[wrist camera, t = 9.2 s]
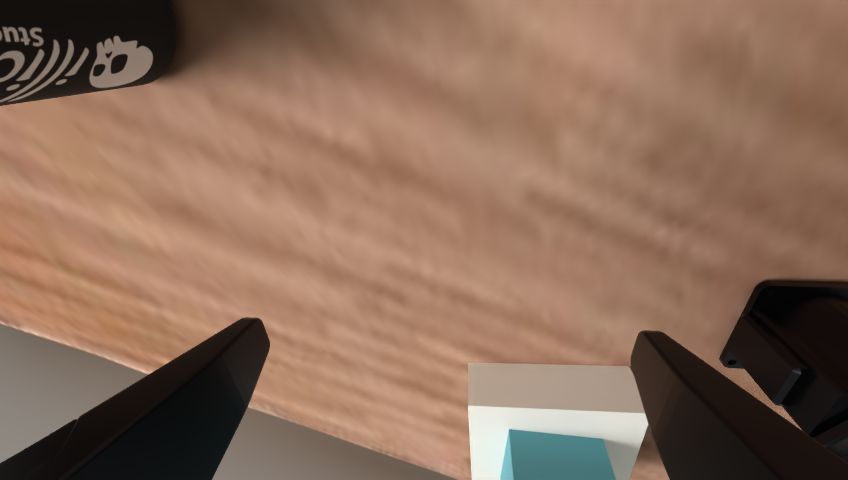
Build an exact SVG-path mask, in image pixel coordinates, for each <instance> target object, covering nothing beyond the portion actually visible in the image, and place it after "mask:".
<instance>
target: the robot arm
mask: <svg viewBox="0 0 848 480" xmlns="http://www.w3.org/2000/svg"><path fill="white" fill-rule="evenodd" d="M767 290H768V291H767ZM269 348H270V341H269V338H268V335H267V333H266V330H265V327H264V325H263V322H262V320H261V319H259V318H250V317H246V318H242V319H240V320H238V321H237V322H235V323H233V324H232V325H230V326H228V327H227V328H225V329H223V330H222V331H220V332H218V333H217V334H215V335H213V336H212V337H210V338H208V339H207V340H205V341H203V342H202V343H200V344H199V345H197V346H195V347H194V348H192V349H190V350H189V351H187V352H185V353H184V354H182V355H180V356H179V357H177V358H175V359H174V360H172V361H170V362H169V363H167V364H165V365H164V366H162V367H160V368H159V369H157V370H156V371H154V372H152V373H151V374H149V375H147V376H146V377H144V378H143V379H141V380H139V381H137V382H136V383H134V384H132V385H131V386H129V387H127V388H126V389H124V390H123V391H121V392H119V393H118V394H116V395H114V396H113V397H111V398H109V399H108V400H106V401H104V402H103V403H101V404H99V405H98V406H96V407H94V408H93V409H91V410H89V411H88V412H86V413H84V414H83V415H81V416H80V417H79V418H78V419H75V420H73V421H71V422H69V423H68V424H66V425H65V426H63V427H61V428H60V429H58V430H56V431H55V432H53V433H51V434H50V435H48V436H46V437H45V438H43V439H41V440H40V441H38V442H36V443H34V444H33V445H31V446H29V447H28V448H26V449H24V450H23V451H21V452H19V453H17V454H16V455H14V456H12V457H10V458H8V459H7V460H5V461H3V462H1V463H0V480H212V478H213V476H214V474H215V472H216V470H217V468H218V466H219V464H220V462H221V460H222V458H223V456H224V454H225V452H226V450H227V448H228V446H229V444H230V442H231V440H232V438H233V436H234V434H235V432H236V430H237V428H238V426H239V424H240V421H241V420H242V418H243V415H244V413H245V411H246V409H247V407H248V404H249V402H250V400H251V397H252V394H253V392H254V389H255V387H256V384H257V381H258V379H259V376H260V373H261V371H262V368H263V365H264V363H265V360H266V357H267V355H268V352H269ZM719 360H720V361H721V363H722V364H723V365H724V366H725V367H728V368H742V369H745V370H746V371H747V372H748V373H749V374H750V376H751V377H752V378H753V379H754V381H755V382H756V383H757V384H758V385H759V387H760V388H761V389H762V390H763V392H764V393H765V394H766V395H767V396H768V398H769V399H770V400H771V401H772V402H773V403H774V404H775V405H779V406H782V407H783V408H784V409H785V410H786V411H787V413H788V414H789V415H790V416H791V417H792V419H793V420H794V421H795V422H796V423H797V425H798V426H799V427H800V428H801V429H802V430H803V431H802V430H800V429H799V428H797V427H796V426H795V425H793V424H792V423H790V422H789V421H788V420H786V419H785V418H783V417H782V416H780V415H779V414H778V413H776V412H775V411H773V410H772V409H771V408H769V407H768V406H766V405H765V404H764V403H762V402H761V401H759V400H758V399H756V398H755V397H754V396H752V395H751V394H749V393H748V392H747V391H745V390H744V389H742V388H741V387H740V386H738V385H737V384H735V383H734V382H732V381H731V380H730V379H728V378H727V377H725V376H724V375H723V374H721V373H720V372H718V371H717V370H716V369H714V368H713V367H711V366H710V365H708V364H707V363H706V362H704V361H703V360H701V359H700V358H699V357H697V356H696V355H694V354H693V353H692V352H690V351H689V350H687V349H686V348H684V347H683V346H682V345H680V344H679V343H677V342H676V341H675V340H673V339H672V338H670V337H669V336H667V335H666V334H665V333H663V332H660V331H641V332H640V333H639V334H638V336H637V339H636V342H635V345H634V348H633V351H632V355H631V367H632V371H633V374H634V377H635V381H636V384H637V388H638V391H639V394H640V398H641V401H642V405H643V408H644V411H645V415H646V418H647V422H648V425H649V428H650V431H651V434H652V437H653V440H654V442H655V445H656V447H657V450H658V452H659V455H660V457H661V459H662V462H663V464H664V467H665V469H666V471H667V474H668V476H669V479H670V480H848V283H808V282H763V283H760V284H758V285H757V286H756V287H755V288H754V290H753V292H752V294H751V296H750V298H749V300H748V302H747V304H746V306H745V308H744V310H743V312H742V314H741V316H740V318H739V320H738V322H737V324H736V326H735V328H734V330H733V332H732V334H731V336H730V338H729V340H728V342H727V344H726V346H725V348H724V350H723V352H722V353H721V355H720V358H719Z"/></svg>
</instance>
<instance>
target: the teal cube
mask: <svg viewBox="0 0 848 480" xmlns="http://www.w3.org/2000/svg"><path fill="white" fill-rule="evenodd" d="M500 480H616V478H615V475H614V472H613V469H612V466H611V462H610V459H609V456H608V453H607V450H606V447H605V444H604V441H603V439H600V438H590V437H580V436H570V435H561V434H551V433H541V432H532V431H522V430H512V429H509V431H508V437H507V442H506V448H505V453H504V459H503V465H502V470H501V476H500Z"/></svg>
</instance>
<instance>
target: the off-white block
mask: <svg viewBox="0 0 848 480" xmlns="http://www.w3.org/2000/svg"><path fill="white" fill-rule="evenodd" d="M468 413H469V432H470V451H471V470H472V480H500V476H501V470H502V465H503V459H504V453H505V448H506V442H507V437H508V431H509V429H512V430H522V431H532V432H541V433H551V434H561V435H570V436H580V437H590V438H600V439H603V441H604V444H605V447H606V450H607V453H608V456H609V459H610V462H611V466H612V469H613V472H614V475H615V478H616V480H629V479H630V476H631V473H632V470H633V467H634V464H635V461H636V458H637V455H638V452H639V450H640V447H641V444H642V441H643V438H644V435H645V432H646V429H647V426H648V422H647V418H646V415H645V411H644V408H643V405H642V401H641V398H640V394H639V391H638V388H637V384H636V381H635V377H634V375H633V373H632V371H631V369H630V367H629V366H595V365H556V364H516V363H477V362H469V364H468Z"/></svg>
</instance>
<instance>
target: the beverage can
mask: <svg viewBox="0 0 848 480" xmlns="http://www.w3.org/2000/svg"><path fill="white" fill-rule="evenodd" d="M175 46H176V23H175V17H174V12H173V9H172V6H171V2H170V0H0V106H2V105H9V104H16V103H23V102H29V101H36V100H43V99H50V98H57V97H63V96H70V95H77V94H84V93H91V92H97V91H104V90H111V89H118V88H125V87H132V86H138V85H144V84H148V83H150V82H153V81H154V80H156V79H158V78H159V77H160V76H161V75H163V73H164V72H165V71H166V70H167V69H168V67H169V65H170V64H171V61H172V59H173V56H174V52H175Z"/></svg>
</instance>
